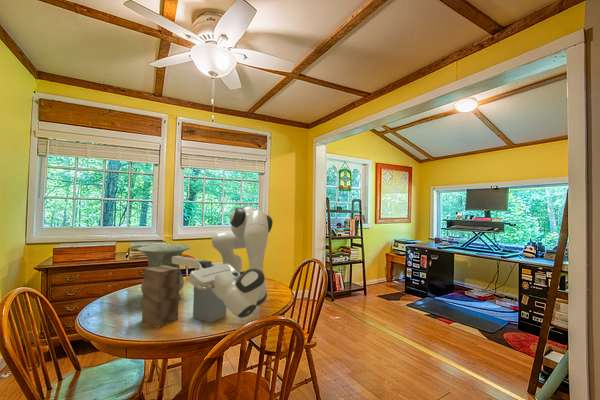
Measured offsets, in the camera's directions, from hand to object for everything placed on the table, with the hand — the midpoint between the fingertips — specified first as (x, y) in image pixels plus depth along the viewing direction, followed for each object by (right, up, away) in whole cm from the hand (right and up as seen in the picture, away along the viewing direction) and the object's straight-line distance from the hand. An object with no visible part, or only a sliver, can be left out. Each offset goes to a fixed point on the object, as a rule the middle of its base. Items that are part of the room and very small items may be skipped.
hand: (202, 263), depth 114 cm
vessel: (-36, -30, +40) cm, 62 cm away
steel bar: (-6, -2, +4) cm, 7 cm away
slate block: (-3, -30, +19) cm, 36 cm away
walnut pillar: (-24, -30, +13) cm, 40 cm away
